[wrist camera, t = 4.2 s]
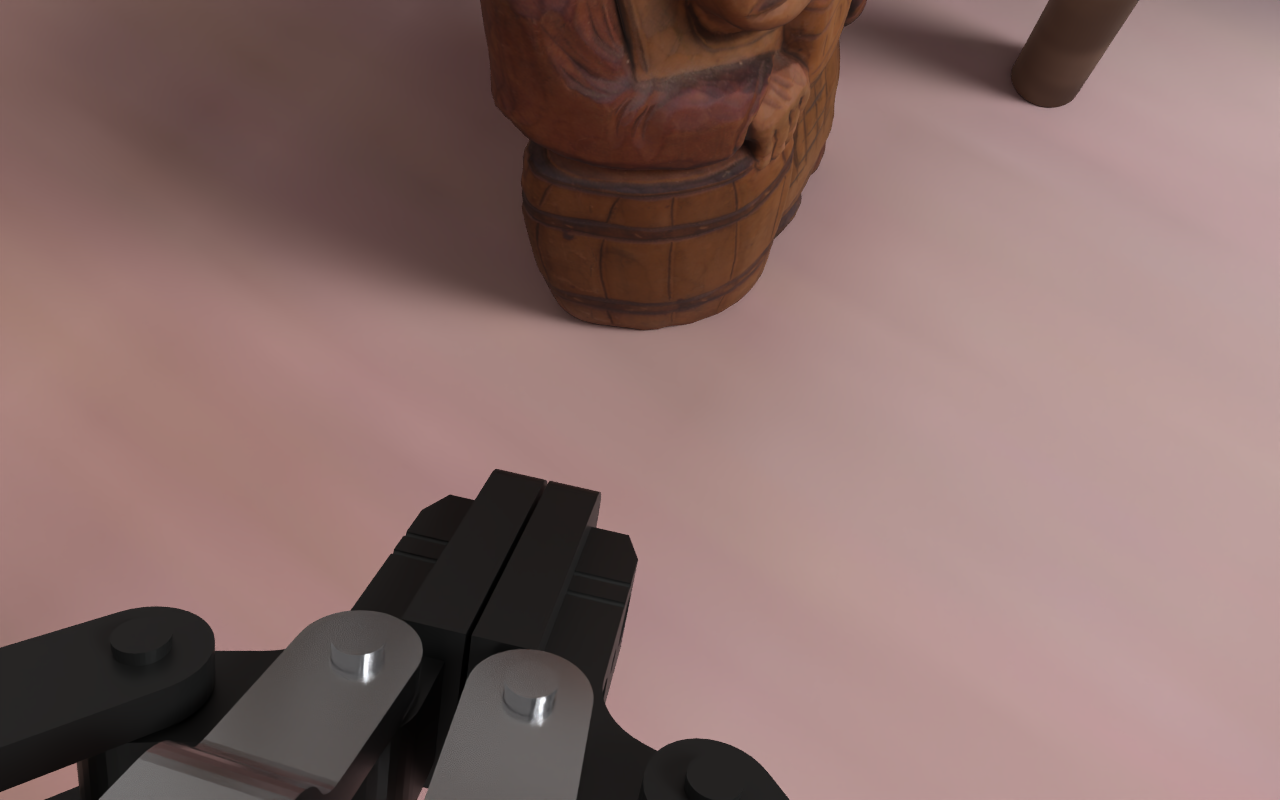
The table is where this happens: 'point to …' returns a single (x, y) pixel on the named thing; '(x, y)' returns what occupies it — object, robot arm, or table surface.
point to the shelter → (1066, 48)
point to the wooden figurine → (663, 142)
